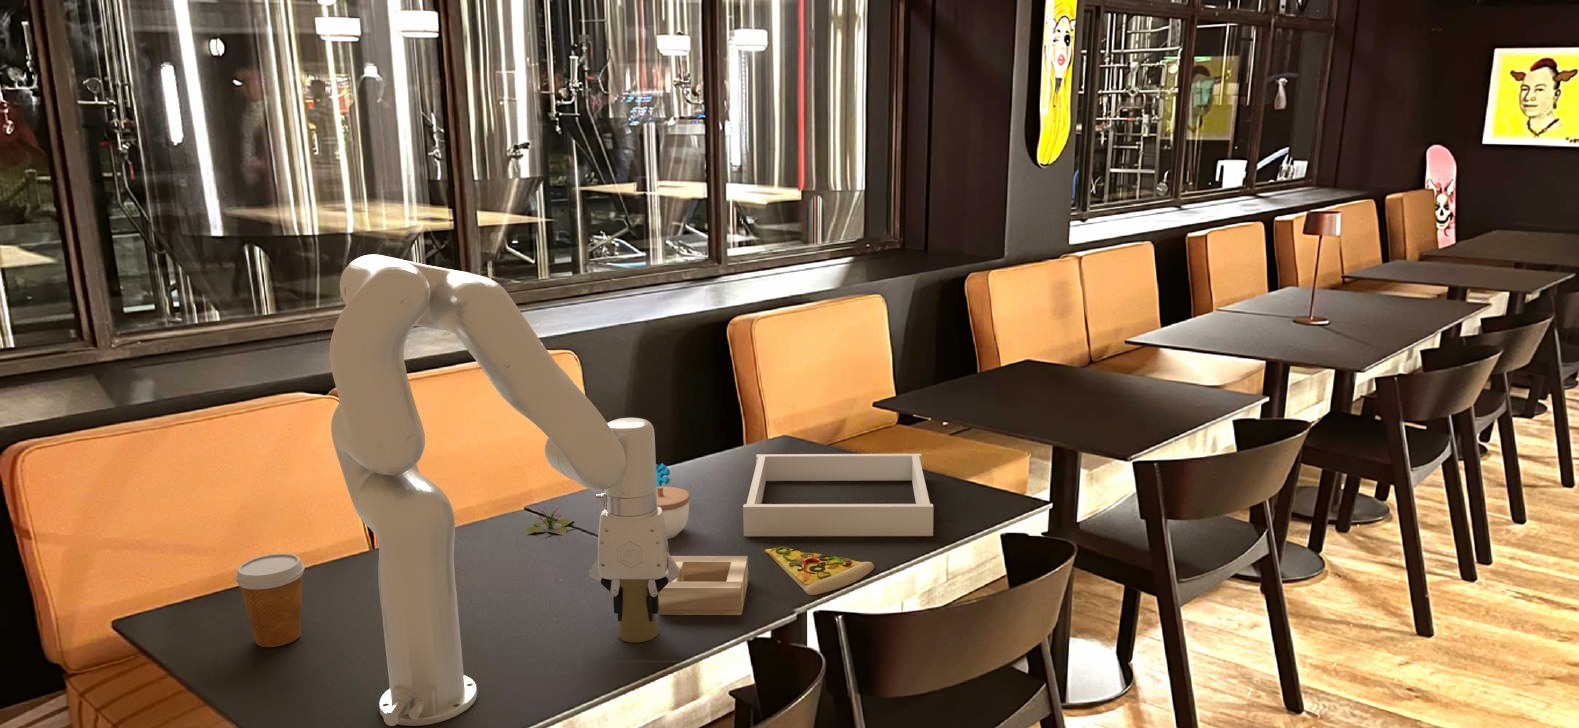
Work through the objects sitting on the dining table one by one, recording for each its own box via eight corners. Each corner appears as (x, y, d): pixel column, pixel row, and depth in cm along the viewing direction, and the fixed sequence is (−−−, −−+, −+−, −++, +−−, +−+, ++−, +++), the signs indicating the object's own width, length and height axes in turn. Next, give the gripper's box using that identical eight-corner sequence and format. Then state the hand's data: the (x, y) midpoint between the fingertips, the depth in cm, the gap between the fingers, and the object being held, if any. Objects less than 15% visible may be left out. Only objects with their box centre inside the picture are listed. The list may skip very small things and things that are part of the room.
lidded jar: (698, 540, 205) (696, 492, 203) (641, 549, 201) (639, 500, 199) (681, 521, 215) (679, 475, 213) (627, 529, 211) (625, 482, 209)
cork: (650, 644, 164) (647, 574, 162) (612, 640, 165) (608, 571, 163) (663, 626, 170) (660, 559, 168) (626, 623, 171) (622, 556, 169)
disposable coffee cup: (293, 618, 175) (284, 547, 172) (324, 635, 169) (315, 561, 167) (232, 640, 168) (222, 566, 165) (262, 658, 162) (252, 582, 159)
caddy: (741, 615, 173) (740, 588, 172) (659, 614, 174) (657, 588, 173) (748, 581, 186) (747, 556, 185) (671, 581, 187) (670, 556, 186)
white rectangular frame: (933, 537, 204) (933, 506, 203) (743, 537, 206) (743, 506, 204) (920, 480, 236) (920, 453, 235) (757, 481, 238) (756, 454, 237)
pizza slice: (817, 602, 179) (817, 585, 178) (733, 568, 193) (733, 551, 193) (881, 574, 189) (881, 558, 189) (797, 543, 204) (796, 528, 203)
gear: (621, 497, 226) (649, 456, 229) (640, 511, 230) (668, 471, 232) (647, 511, 218) (676, 469, 220) (667, 525, 221) (695, 484, 223)
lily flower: (537, 548, 204) (535, 524, 203) (507, 531, 213) (505, 508, 212) (594, 531, 211) (592, 509, 210) (563, 516, 220) (561, 494, 219)
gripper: (569, 510, 160) (576, 628, 164) (684, 511, 159) (688, 629, 163) (581, 493, 167) (587, 606, 171) (691, 494, 166) (694, 607, 170)
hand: (636, 616), depth 167 cm, fingers closed on cork, 3 cm apart
